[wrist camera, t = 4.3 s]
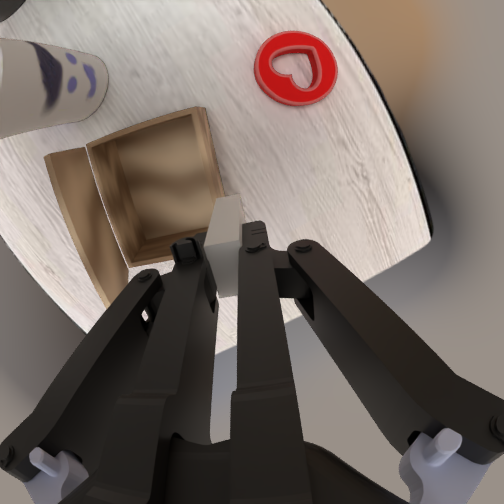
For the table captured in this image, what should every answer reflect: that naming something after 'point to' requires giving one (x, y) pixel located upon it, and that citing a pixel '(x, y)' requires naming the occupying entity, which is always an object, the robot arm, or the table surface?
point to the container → (47, 86)
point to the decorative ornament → (283, 85)
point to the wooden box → (158, 182)
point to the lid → (87, 221)
